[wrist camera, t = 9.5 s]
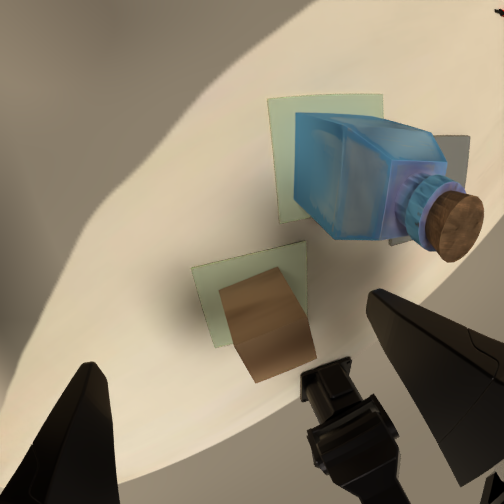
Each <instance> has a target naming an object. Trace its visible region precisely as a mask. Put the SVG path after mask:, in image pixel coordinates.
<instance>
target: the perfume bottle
mask: <svg viewBox="0 0 504 504" xmlns="http://www.w3.org/2000/svg"><path fill="white" fill-rule="evenodd" d="M447 163H448V162H447V160H446V158H445V156H444V155H443V153H442V151H441V149H440V147H439V145H438V144H437V142H436V140H435V138H434V136H433V135H432V133H431V132H427V131H424V130H421V129H418V128H415V127H411V126H408V125H404V124H401V123H397V122H393V121H390V120H386V119H382V118H378V117H374V116H365V115H351V114H335V113H304V112H295V167H294V200H295V201H296V202H297V203H298V204H299V205H300V206H301V207H302V208H303V209H304V210H305V211H306V212H307V213H308V214H309V215H310V216H311V217H312V218H313V219H314V220H315V221H316V222H317V223H318V224H319V225H320V226H321V227H322V228H323V229H324V230H325V231H326V232H327V233H328V234H329V235H330V236H331V237H332V238H333V239H334V240H385V239H392V238H398V237H404V236H410V238H411V239H413V240H414V241H415V242H416V243H418V244H419V245H420V246H421V247H423V248H424V249H426V250H428V251H437V253H438V254H439V255H440V257H441V258H442V259H443V260H444V261H446V262H447V263H449V262H455V261H457V260H459V259H461V258H462V257H463V256H464V255H466V254H467V253H468V251H469V250H470V249H471V248H472V246H473V245H474V243H475V241H476V240H477V238H478V236H479V233H480V231H481V228H482V224H483V219H484V207H483V204H482V201H481V200H480V199H479V198H478V197H477V196H473V195H469V194H466V192H465V189H464V188H463V187H462V185H461V184H460V183H458V182H456V181H454V180H452V179H450V178H448V177H446V176H445V175H446V169H447Z"/></svg>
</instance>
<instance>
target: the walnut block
mask: <svg viewBox="0 0 504 504" xmlns="http://www.w3.org/2000/svg"><path fill="white" fill-rule="evenodd" d="M218 291H219V294H220V298H221V302H222V305H223V309H224V313H225V316H226V320H227V323H228V327H229V330H230V334H231V337H232V341H233V344H234V347H235V349H236V350H237V352H238V354H239V356H240V357H241V359H242V361H243V363H244V364H245V366H246V368H247V370H248V371H249V373H250V375H251V376H252V378H253V380H254V382H255V383H258V382H261V381H264V380H266V379H269V378H271V377H274V376H276V375H279V374H281V373H284V372H286V371H289V370H291V369H294V368H296V367H298V366H301V365H303V364H305V363H308V362H310V361H312V360H314V359H317V356H316V351H315V347H314V343H313V339H312V335H311V331H310V326H309V322H308V318H307V315H306V314H305V312H304V310H303V308H302V307H301V305H300V303H299V302H298V300H297V298H296V296H295V295H294V293H293V291H292V290H291V288H290V286H289V285H288V283H287V281H286V279H285V278H284V276H283V274H282V273H281V271H280V269H279V268H278V266H277V267H275V268H272V269H270V270H267V271H265V272H262V273H260V274H258V275H255V276H253V277H250V278H248V279H245V280H243V281H240V282H238V283H235V284H233V285H230V286H228V287H225V288H223V289H220V290H218Z"/></svg>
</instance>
